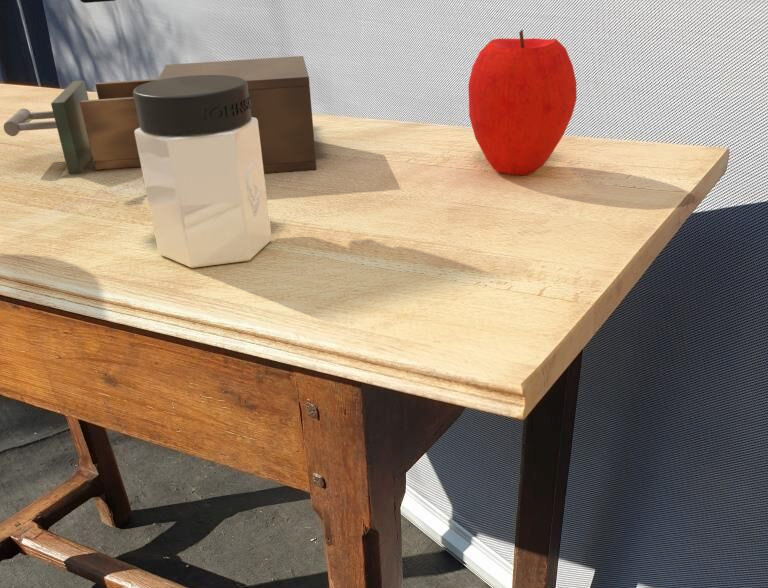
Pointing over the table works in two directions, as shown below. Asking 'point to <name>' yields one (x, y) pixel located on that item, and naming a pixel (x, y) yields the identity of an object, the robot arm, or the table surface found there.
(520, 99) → the apple
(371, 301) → the table surface
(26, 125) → the drawer
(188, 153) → the jar
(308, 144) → the cabinet
